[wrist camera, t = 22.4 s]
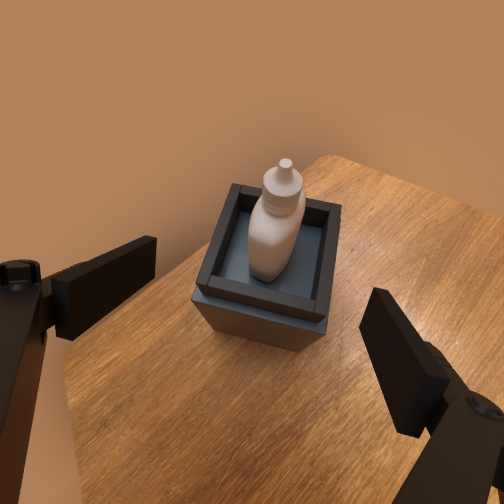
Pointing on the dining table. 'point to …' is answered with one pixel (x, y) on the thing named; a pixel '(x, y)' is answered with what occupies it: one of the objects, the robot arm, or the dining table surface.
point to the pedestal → (277, 291)
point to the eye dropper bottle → (275, 221)
